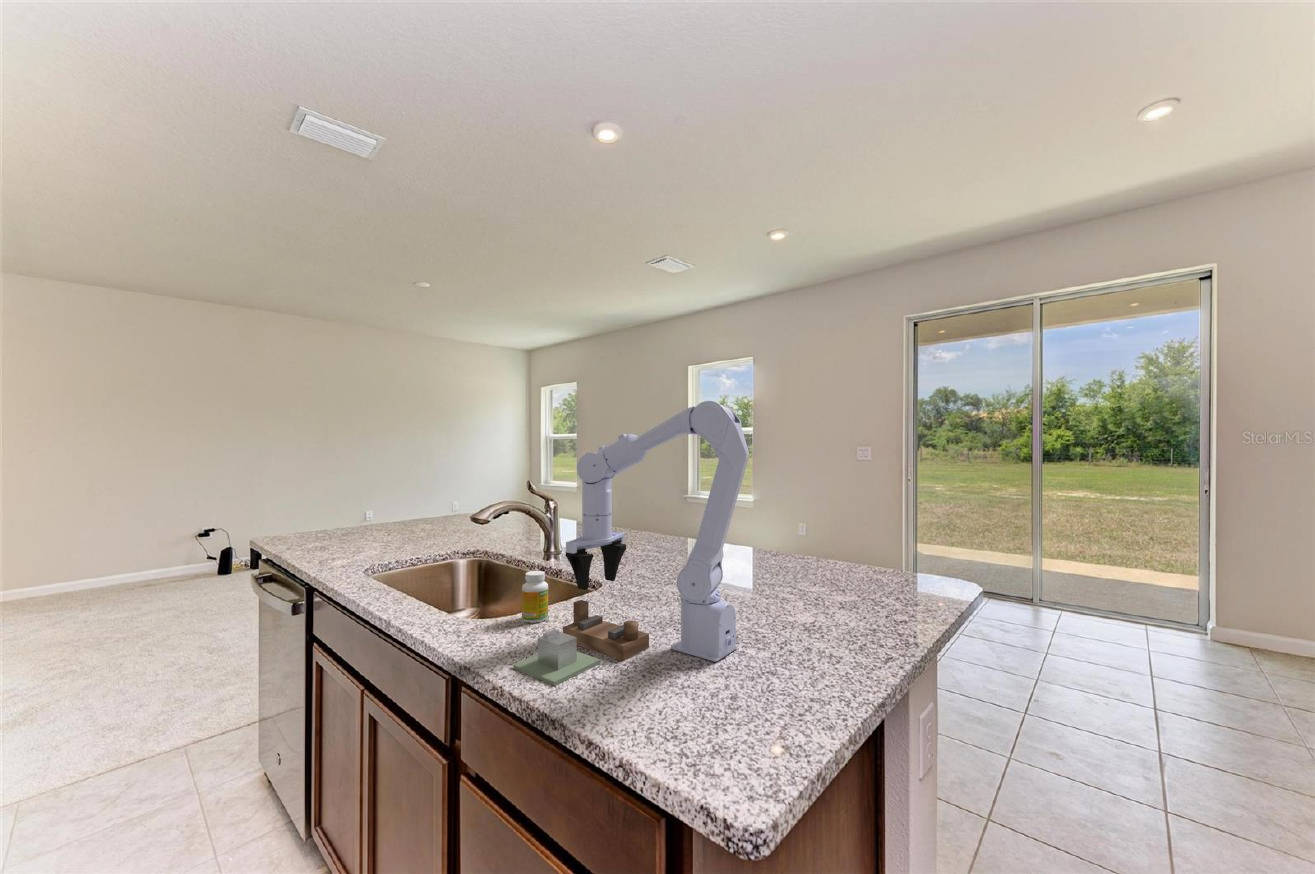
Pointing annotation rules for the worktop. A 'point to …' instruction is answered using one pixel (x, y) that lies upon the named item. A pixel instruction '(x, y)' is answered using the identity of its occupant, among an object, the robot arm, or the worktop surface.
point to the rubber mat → (553, 675)
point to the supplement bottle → (535, 597)
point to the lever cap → (557, 649)
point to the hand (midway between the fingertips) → (596, 584)
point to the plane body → (606, 634)
